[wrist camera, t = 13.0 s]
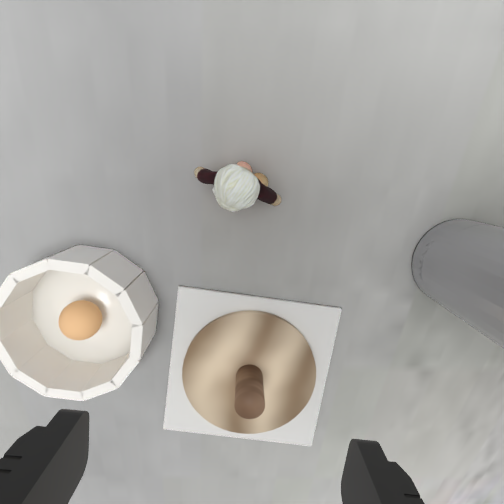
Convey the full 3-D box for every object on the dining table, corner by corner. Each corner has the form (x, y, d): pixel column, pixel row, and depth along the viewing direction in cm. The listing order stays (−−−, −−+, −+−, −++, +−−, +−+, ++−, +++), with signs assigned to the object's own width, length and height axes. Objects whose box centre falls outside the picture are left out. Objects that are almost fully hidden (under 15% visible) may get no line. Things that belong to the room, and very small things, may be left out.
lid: (326, 319, 39) (340, 346, 33) (301, 434, 42) (310, 477, 36) (191, 301, 38) (181, 325, 32) (177, 419, 41) (165, 460, 35)
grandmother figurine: (280, 166, 35) (298, 164, 23) (274, 204, 36) (289, 222, 24) (204, 156, 35) (181, 148, 22) (200, 194, 36) (175, 207, 23)
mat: (340, 307, 39) (341, 309, 38) (310, 443, 43) (311, 446, 42) (179, 285, 38) (178, 286, 37) (163, 426, 42) (163, 429, 41)
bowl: (163, 256, 37) (147, 272, 31) (152, 373, 40) (135, 407, 34) (29, 237, 36) (-13, 250, 31) (28, 357, 39) (-10, 390, 34)
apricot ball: (109, 297, 37) (93, 312, 33) (107, 331, 38) (91, 350, 34) (71, 292, 37) (50, 306, 33) (70, 326, 38) (49, 344, 34)
